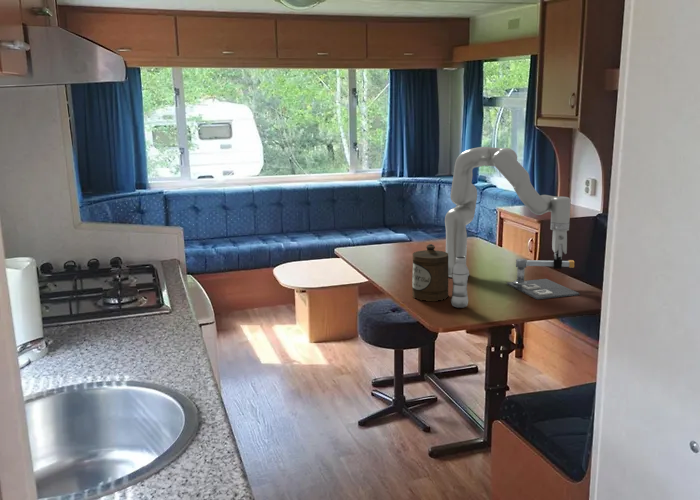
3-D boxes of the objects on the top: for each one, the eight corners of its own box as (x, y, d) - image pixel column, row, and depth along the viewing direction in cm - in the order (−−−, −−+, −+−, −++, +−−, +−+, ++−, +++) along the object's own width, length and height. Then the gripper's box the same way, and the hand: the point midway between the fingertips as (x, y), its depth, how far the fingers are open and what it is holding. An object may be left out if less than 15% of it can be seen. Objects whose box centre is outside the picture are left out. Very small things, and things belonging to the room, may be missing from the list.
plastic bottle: (464, 310, 246) (465, 260, 242) (448, 307, 250) (449, 258, 245) (470, 306, 251) (472, 256, 247) (454, 303, 255) (455, 254, 250)
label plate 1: (528, 289, 270) (528, 287, 270) (521, 286, 275) (521, 284, 275) (540, 288, 272) (540, 286, 272) (534, 285, 277) (534, 283, 276)
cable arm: (516, 267, 276) (516, 261, 276) (515, 265, 281) (515, 258, 280) (574, 269, 273) (575, 262, 273) (572, 266, 277) (572, 259, 277)
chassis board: (536, 299, 259) (537, 297, 259) (506, 284, 281) (506, 282, 281) (579, 295, 264) (579, 293, 264) (546, 280, 287) (546, 278, 287)
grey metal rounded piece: (517, 285, 276) (518, 270, 275) (510, 282, 282) (511, 266, 280) (530, 284, 278) (530, 268, 276) (522, 281, 283) (523, 265, 282)
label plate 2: (540, 295, 262) (540, 293, 262) (533, 292, 267) (533, 290, 266) (552, 293, 264) (552, 292, 263) (545, 290, 268) (545, 289, 268)
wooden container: (406, 293, 269) (406, 242, 264) (437, 289, 274) (438, 239, 270) (422, 303, 256) (423, 249, 251) (454, 299, 261) (456, 246, 256)
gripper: (571, 229, 261) (569, 273, 265) (566, 223, 276) (563, 264, 280) (552, 229, 263) (550, 272, 267) (548, 222, 277) (546, 263, 281)
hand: (557, 268), depth 273 cm, fingers closed
